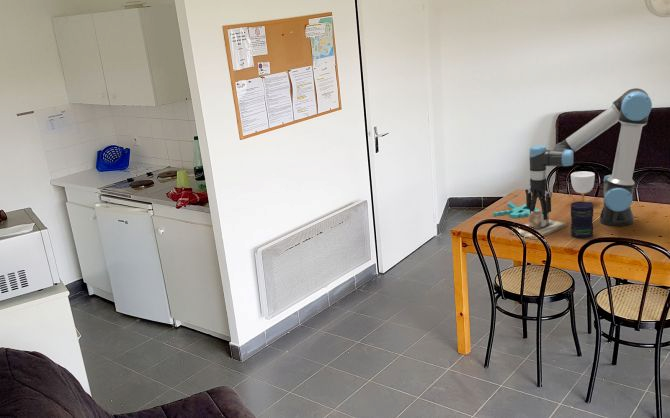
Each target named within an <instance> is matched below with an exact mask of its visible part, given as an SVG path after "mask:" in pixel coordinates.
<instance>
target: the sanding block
mask: <svg viewBox="0 0 670 418" xmlns="http://www.w3.org/2000/svg"><path fill="white" fill-rule="evenodd" d="M541 213H543V212H542V209H540V210H538V211H535V212H533V213H530V214H528V215H529V217H528V223H529V227H531V228H535V229H539V228H541V227H542V226H541ZM549 220H550V212H549V213H547V220H546V225H548V224H549Z"/></svg>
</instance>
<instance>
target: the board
mask: <svg viewBox="0 0 670 418" xmlns="http://www.w3.org/2000/svg"><path fill="white" fill-rule="evenodd" d="M524 225H526V226H529V222H527V223H525V224H524ZM566 227H567V223H566V222H562V221H556V220H552V219H549V224H548V225H546V226H543V227H541V228H539V229H535V228H533V229H535V230H536V231H538V232H539V233H541V234H542V235H543V236H544V237H546V236H548V235H550V234H551V233H554V232H556V231H559V230H561V229H563V228H566ZM514 229H516V230H517V231H518V232H519V233H520V234H521V235H522V236H524V237H523V238H525V237H529V238H536V237H535V236H534V235H532V234H530V233H528V232H526V231H524V230H521V229H518V227H516V228H514ZM508 234H509V235H512V234H514V235H513V236H516V235H515V233H514V232H513V231H511V230H509V233H508ZM529 238H528V239H529Z"/></svg>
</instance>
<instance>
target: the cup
mask: <svg viewBox="0 0 670 418" xmlns="http://www.w3.org/2000/svg"><path fill="white" fill-rule="evenodd" d="M595 176H596V174H595V172H592V171H586V170H585V171H574V172H572V173H571V174H570V180H571V187H572V188H573V190H574V192H575V193H578V194H581V202H585V201H584V200H585V198H584V197H585V195H586V194H587V193H590V192H591V191H592V190H593V188H594V185H595V178H596V177H595Z"/></svg>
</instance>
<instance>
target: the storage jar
mask: <svg viewBox="0 0 670 418" xmlns="http://www.w3.org/2000/svg"><path fill="white" fill-rule="evenodd" d="M570 217H571V219H570V220H571V223H570V236H571V238H574V239H579V240H586V239H587V240H588V239H591V238H593V236H594V223H593V222H594V220H593V217H594V203H592V202H590V201H584V202H582V201H574V202H572V203H570Z"/></svg>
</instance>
